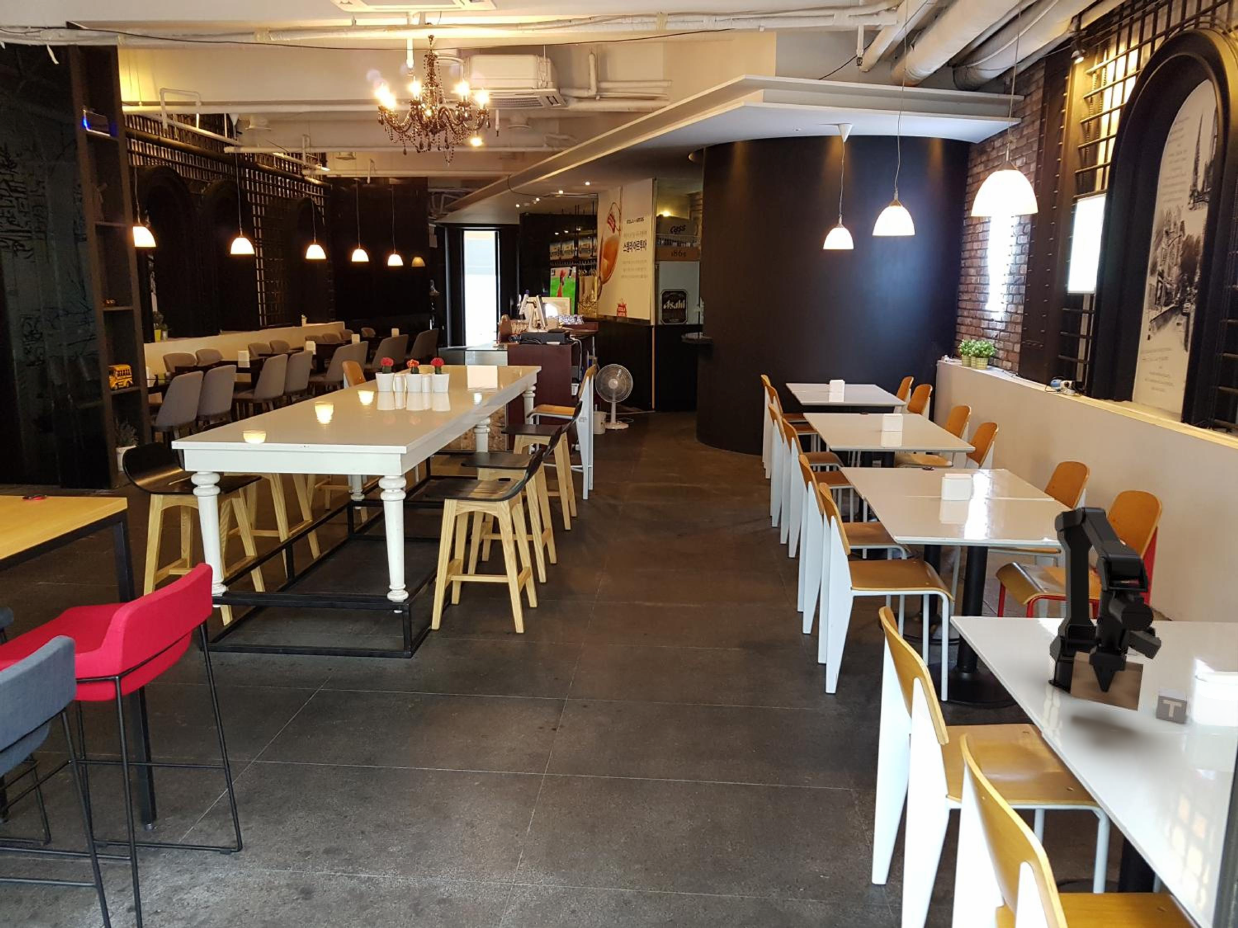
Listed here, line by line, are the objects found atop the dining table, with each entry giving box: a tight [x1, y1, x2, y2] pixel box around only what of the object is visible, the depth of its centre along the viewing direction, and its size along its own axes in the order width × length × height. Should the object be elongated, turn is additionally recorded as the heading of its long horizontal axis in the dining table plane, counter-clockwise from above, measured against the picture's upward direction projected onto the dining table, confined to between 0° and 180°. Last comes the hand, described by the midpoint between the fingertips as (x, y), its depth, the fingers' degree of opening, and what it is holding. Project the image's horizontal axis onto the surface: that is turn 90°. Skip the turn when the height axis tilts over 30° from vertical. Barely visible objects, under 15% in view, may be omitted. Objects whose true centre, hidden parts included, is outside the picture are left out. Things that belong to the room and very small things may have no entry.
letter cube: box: [1155, 686, 1188, 724], centre depth 188 cm, size 5×5×5 cm
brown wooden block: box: [1069, 652, 1144, 712], centre depth 182 cm, size 12×5×8 cm, turn 58°
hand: (1105, 687), depth 183 cm, fingers closed on brown wooden block, 5 cm apart
